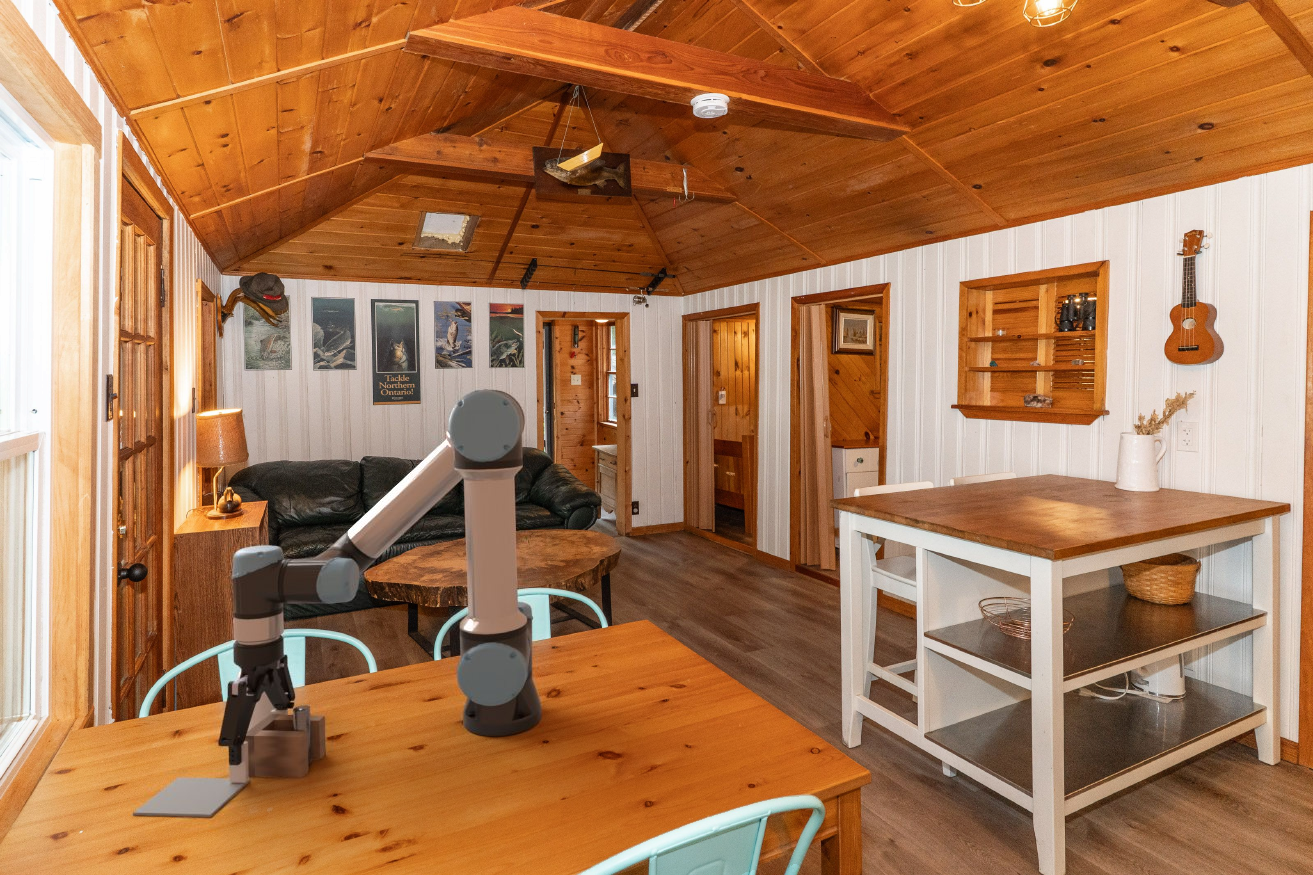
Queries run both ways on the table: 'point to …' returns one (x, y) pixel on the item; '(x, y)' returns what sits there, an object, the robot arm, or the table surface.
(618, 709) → the table surface
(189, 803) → the mat
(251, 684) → the robot arm
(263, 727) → the c link
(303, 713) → the post
